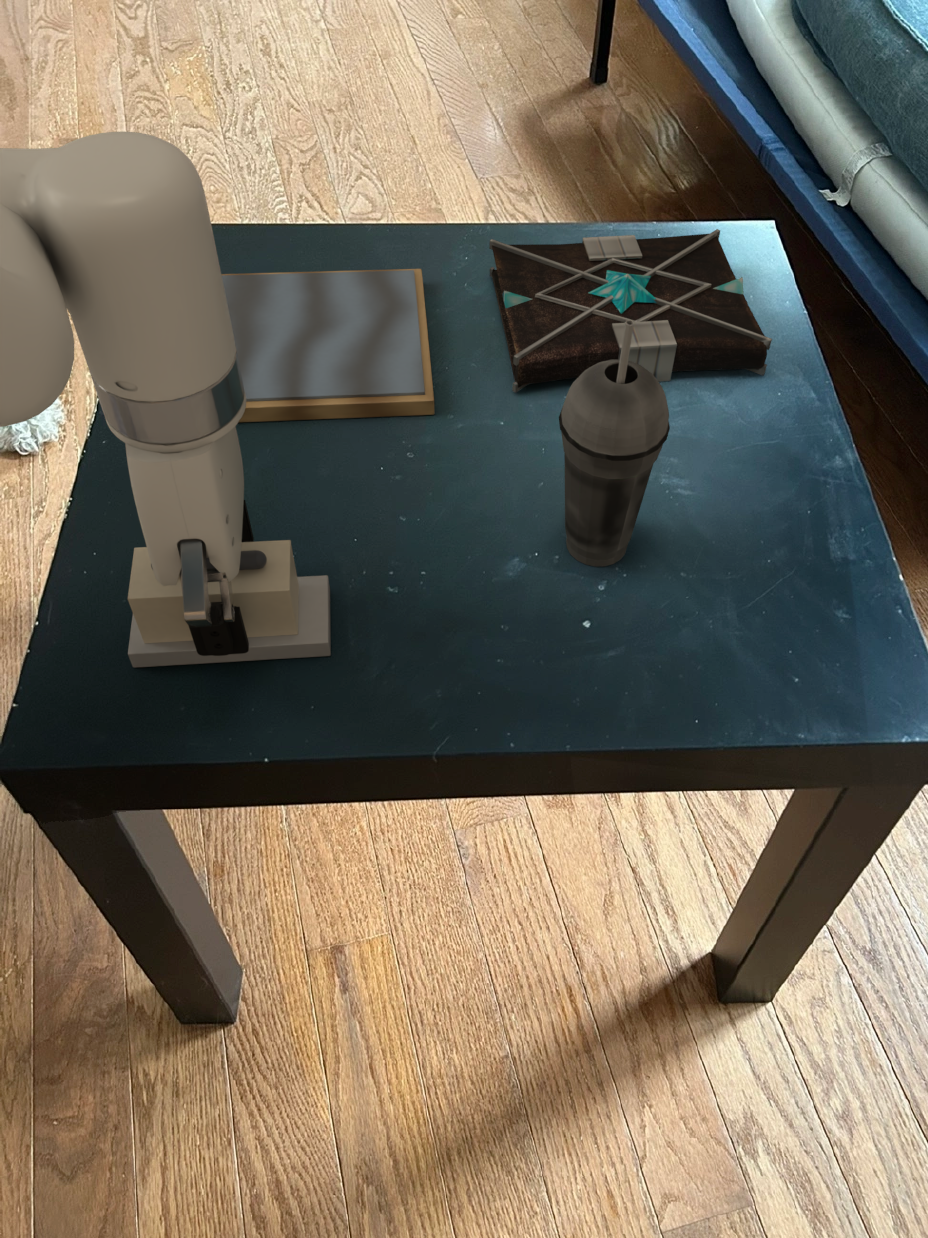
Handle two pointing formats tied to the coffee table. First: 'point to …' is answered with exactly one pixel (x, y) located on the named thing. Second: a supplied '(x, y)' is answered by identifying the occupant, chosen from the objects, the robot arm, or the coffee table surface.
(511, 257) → the book
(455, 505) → the coffee table surface
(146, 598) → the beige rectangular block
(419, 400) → the board
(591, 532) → the beverage cup
